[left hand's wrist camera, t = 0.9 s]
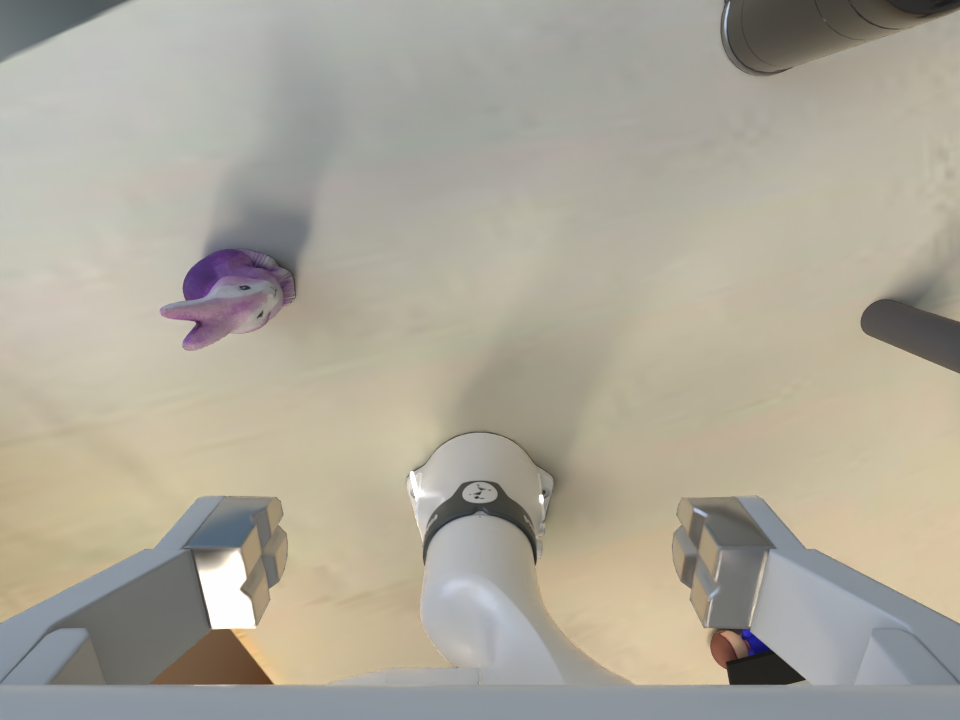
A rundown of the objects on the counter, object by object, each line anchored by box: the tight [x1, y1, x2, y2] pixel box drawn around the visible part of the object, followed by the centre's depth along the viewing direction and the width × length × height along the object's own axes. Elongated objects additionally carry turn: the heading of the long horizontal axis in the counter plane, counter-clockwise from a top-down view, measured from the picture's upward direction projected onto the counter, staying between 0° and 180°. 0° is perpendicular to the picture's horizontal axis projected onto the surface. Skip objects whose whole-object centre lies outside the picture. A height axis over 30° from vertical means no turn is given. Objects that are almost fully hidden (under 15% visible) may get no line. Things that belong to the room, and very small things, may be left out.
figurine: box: [160, 249, 295, 351], centre depth 50 cm, size 9×10×15 cm
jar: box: [861, 300, 960, 373], centre depth 51 cm, size 4×4×15 cm
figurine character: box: [710, 629, 806, 685], centre depth 71 cm, size 7×8×15 cm
